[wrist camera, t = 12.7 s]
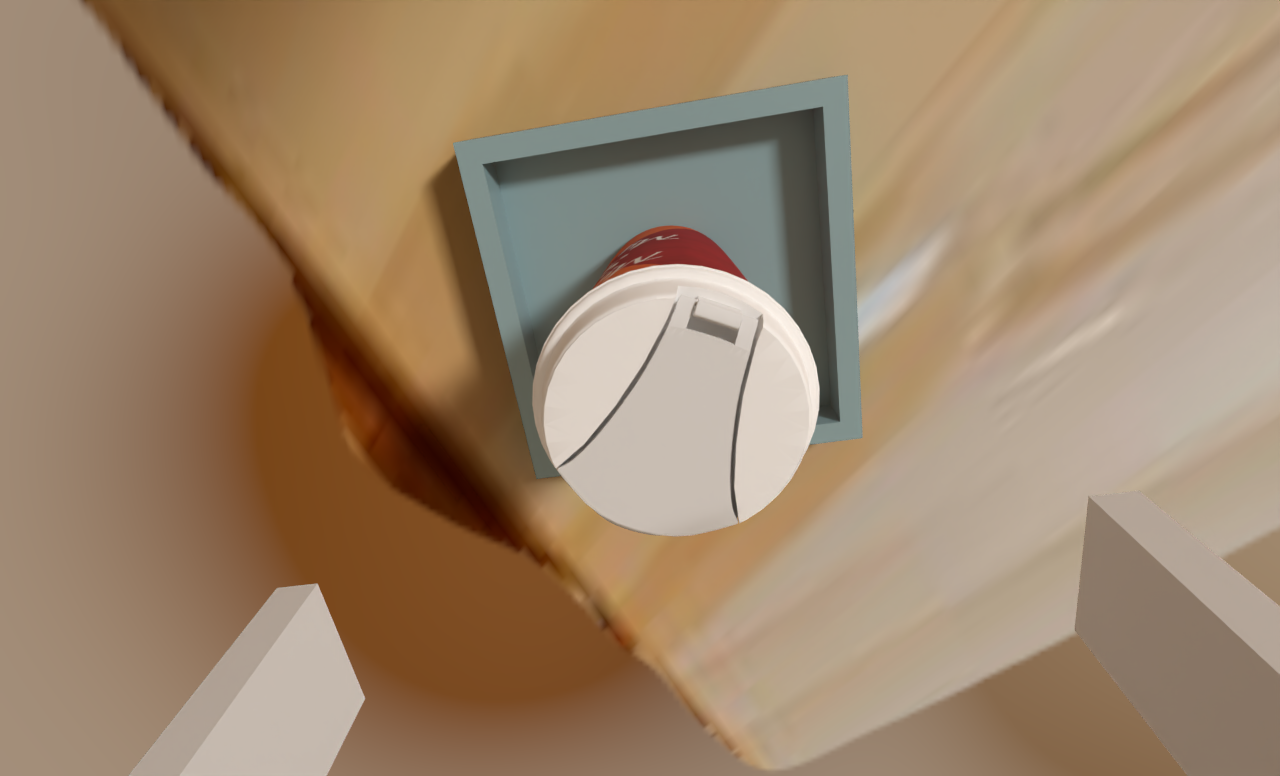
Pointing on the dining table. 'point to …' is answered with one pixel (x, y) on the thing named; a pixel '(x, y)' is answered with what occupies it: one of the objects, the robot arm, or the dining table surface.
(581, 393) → the coffee cup
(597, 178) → the tray
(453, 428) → the dining table surface
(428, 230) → the dining table surface
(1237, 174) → the dining table surface
